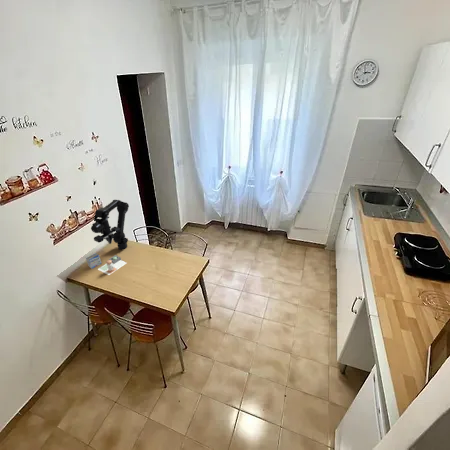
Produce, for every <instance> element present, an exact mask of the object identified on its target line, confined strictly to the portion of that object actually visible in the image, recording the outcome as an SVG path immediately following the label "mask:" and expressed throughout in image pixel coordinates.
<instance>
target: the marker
mask: <svg viewBox="0 0 450 450" xmlns="http://www.w3.org/2000/svg"><path fill="white" fill-rule="evenodd" d="M105 264H107V266H108V270H109V272H112V271H114V267H113V264H112V260H109V259H107V260H106V262H105Z"/></svg>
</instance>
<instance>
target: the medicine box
mask: <svg viewBox="0 0 450 450" xmlns="http://www.w3.org/2000/svg"><path fill="white" fill-rule="evenodd" d="M85 260H86V263H87V266H88V267H89V268H90V269H92V270H93V269H95V268H96V267H98V266H99V265H102V261H101V257H100V255H99V254H98V253H96V252H94V253H93V254H91V255H90V256H87V257H85Z"/></svg>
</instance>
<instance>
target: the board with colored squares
mask: <svg viewBox="0 0 450 450" xmlns="http://www.w3.org/2000/svg"><path fill="white" fill-rule="evenodd" d="M113 257H117V259H116V260H113V259H112V258H113ZM108 260H112V264H113V267H114V271H112V272H109V270H108V266H107V263H105V264H104V265H101V266H100V267H98V268H97V270H98V271H100V272H102V273H104V274H105V275H108V276H110V275H112V274H113V273H114V272H117V271H118V270H119V269H120V268H122V267H123V266H125V265H126V264H127V262H126V261H124V260H122V258H121V256H118V255H115V254H114V256H111V257H110V258H108Z"/></svg>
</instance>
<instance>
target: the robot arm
mask: <svg viewBox="0 0 450 450" xmlns="http://www.w3.org/2000/svg"><path fill="white" fill-rule="evenodd" d="M129 207H130V206H129V203H128V202H126V201H122V200H120V199H113V200H112V201H110V203H108V204H107V205H105V207H104V206H103V207H100V208H99V209H96V210H95V212H94V217H93V221H94V223H92V225H91V227H90V230H91V231H92V233H94V234H98V235H96V236H94V237H93V241H94V242H96V243H102V242H103V241H104V240H105V241H106V242H107V243H108V244H109V245H112V242H114V244H116V245H117V248H118V250H119V251H122V250H126V249H127V248H128V242H129V239H128V237H126V234H125V232H124V229H125V228H124V227H125V220H126V214H127V212H128V211H129ZM115 209H116V210H117V213H118V214H117V215H118V216H117V225H116V226H113V227H112V226H111V225H110V223H109V218H110V216H109V215H110V213H111V212H112V211H113V210H115ZM99 234H101V235H99Z"/></svg>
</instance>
